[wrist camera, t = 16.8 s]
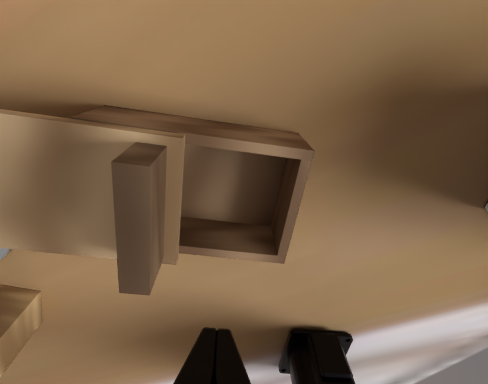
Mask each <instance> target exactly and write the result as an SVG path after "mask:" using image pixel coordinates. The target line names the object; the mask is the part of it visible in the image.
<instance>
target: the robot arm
mask: <svg viewBox="0 0 488 384" xmlns="http://www.w3.org/2000/svg"><path fill="white" fill-rule="evenodd" d="M352 341H353V338H352V336H351V334H348V333H336V332H324V331H311V330H298V329H293V330H291V331H290V333H289V336H288V339H287V342H286V345H285V348H284V351H283V354H282V358H281V361H280V364H279V372H280V373H286V374H290V375H291V381H292V384H355V381H354V379H353V374H352V372H351V369H350V366H349V364H348V361H347V358H346V354H347V352H348V349H349V347H350V345H351V343H352ZM174 384H251V383H250V380H249V377H248V375H247V372H246V370H245V367H244V364H243V362H242V359H241V356H240V354H239V351H238V349H237V346H236V343H235V341H234V338H233V335H232V333H231V331H230V330H229V329H221V328H219V329H217V331H216V329H215V328H208V327H205V328H203V329H202V331H201V333H200V335H199V337H198V338H197V340H196V342H195V344H194V346H193V348H192V350H191V352H190V353H189V355H188V357H187V359H186V361H185V363H184V365H183V367H182V369H181V370H180V372H179V374H178V376H177V378H176V380H175V382H174Z"/></svg>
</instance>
